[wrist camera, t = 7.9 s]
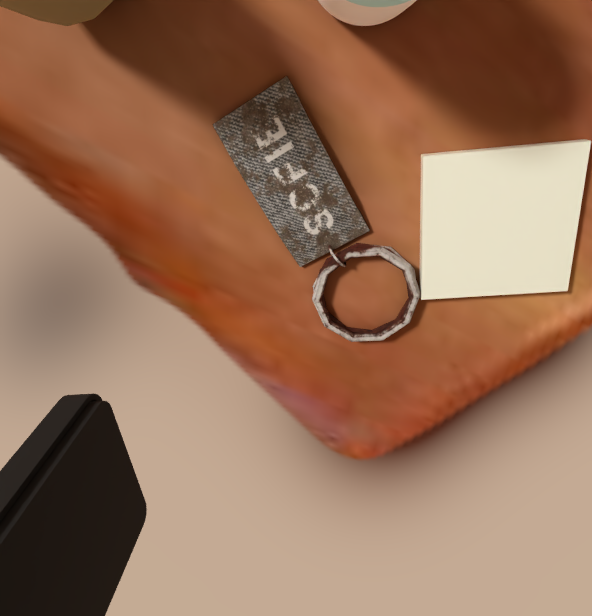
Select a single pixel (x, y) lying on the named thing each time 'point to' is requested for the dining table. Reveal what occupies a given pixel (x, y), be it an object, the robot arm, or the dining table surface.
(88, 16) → the squeeze bottle
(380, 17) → the can
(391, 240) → the dining table surface
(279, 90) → the keychain
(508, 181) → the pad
